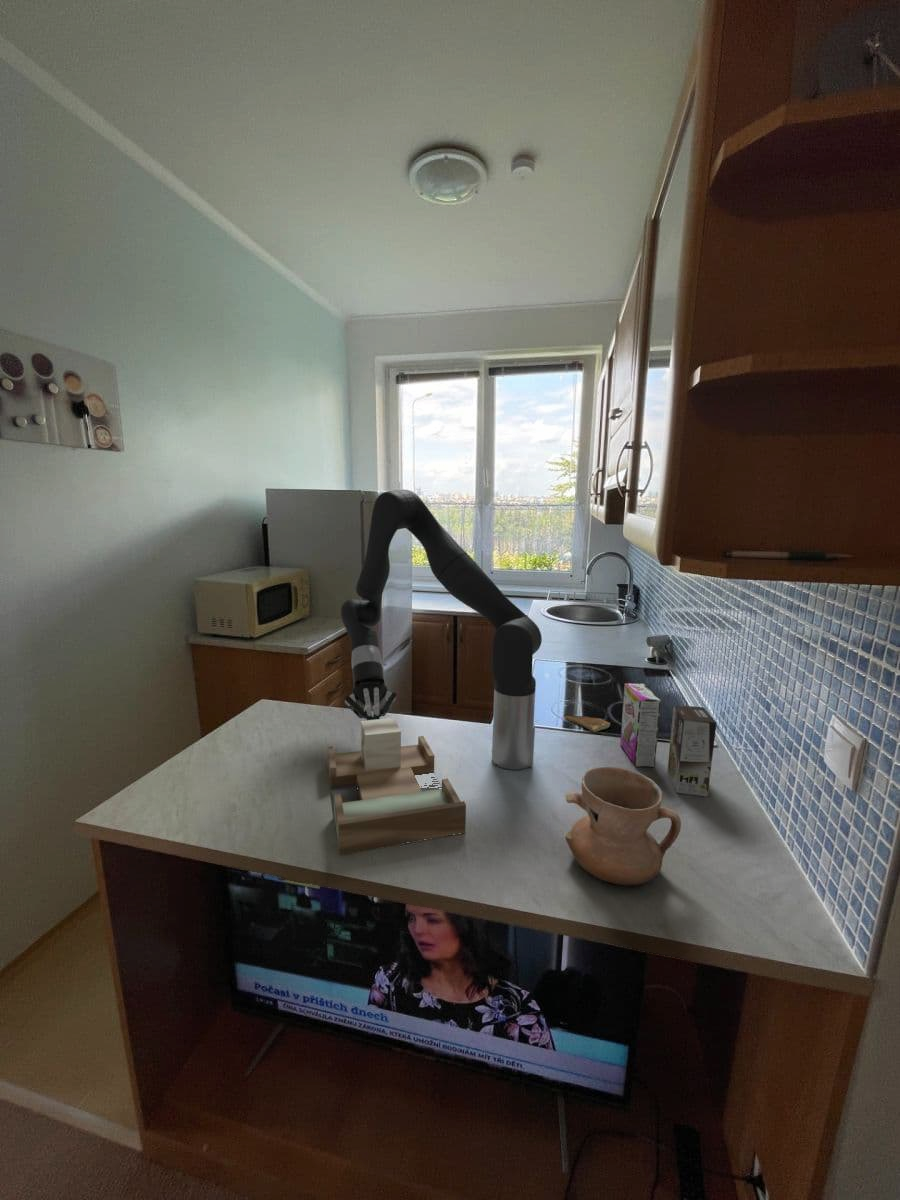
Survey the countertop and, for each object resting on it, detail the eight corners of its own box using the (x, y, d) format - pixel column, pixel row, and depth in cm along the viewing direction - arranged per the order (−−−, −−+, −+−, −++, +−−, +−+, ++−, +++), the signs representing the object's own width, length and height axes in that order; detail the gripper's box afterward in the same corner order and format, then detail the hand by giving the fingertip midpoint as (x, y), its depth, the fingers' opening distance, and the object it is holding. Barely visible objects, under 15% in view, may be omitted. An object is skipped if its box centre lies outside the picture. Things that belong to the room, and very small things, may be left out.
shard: (563, 719, 142) (564, 713, 142) (582, 714, 146) (583, 708, 146) (593, 734, 133) (593, 728, 133) (612, 728, 137) (613, 722, 137)
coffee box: (709, 797, 103) (717, 723, 100) (675, 793, 104) (683, 719, 102) (697, 775, 112) (704, 706, 109) (666, 771, 113) (673, 703, 110)
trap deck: (327, 765, 113) (327, 742, 112) (423, 753, 119) (423, 732, 118) (339, 855, 83) (339, 824, 82) (465, 833, 90) (466, 805, 89)
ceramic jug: (558, 883, 78) (565, 800, 75) (561, 827, 92) (568, 755, 89) (683, 910, 74) (696, 823, 71) (667, 847, 88) (677, 772, 85)
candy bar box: (618, 745, 126) (623, 682, 123) (638, 746, 126) (644, 683, 123) (633, 767, 115) (639, 699, 112) (655, 768, 115) (662, 699, 112)
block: (361, 754, 113) (360, 721, 111) (394, 750, 115) (394, 717, 114) (365, 771, 106) (365, 735, 104) (400, 766, 108) (400, 731, 107)
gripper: (341, 661, 122) (346, 730, 112) (395, 658, 126) (405, 724, 116) (339, 676, 128) (345, 742, 118) (391, 672, 132) (400, 736, 122)
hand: (374, 733), depth 117 cm, fingers closed
